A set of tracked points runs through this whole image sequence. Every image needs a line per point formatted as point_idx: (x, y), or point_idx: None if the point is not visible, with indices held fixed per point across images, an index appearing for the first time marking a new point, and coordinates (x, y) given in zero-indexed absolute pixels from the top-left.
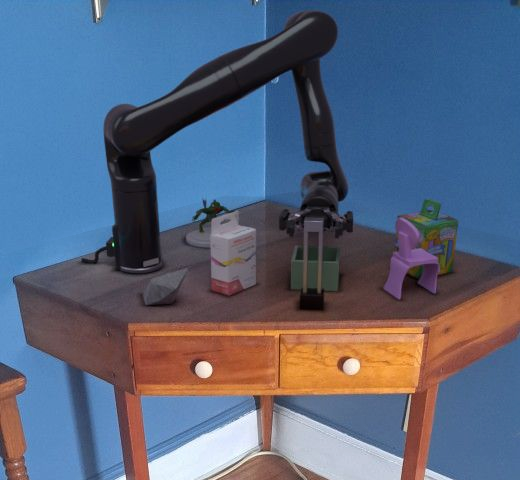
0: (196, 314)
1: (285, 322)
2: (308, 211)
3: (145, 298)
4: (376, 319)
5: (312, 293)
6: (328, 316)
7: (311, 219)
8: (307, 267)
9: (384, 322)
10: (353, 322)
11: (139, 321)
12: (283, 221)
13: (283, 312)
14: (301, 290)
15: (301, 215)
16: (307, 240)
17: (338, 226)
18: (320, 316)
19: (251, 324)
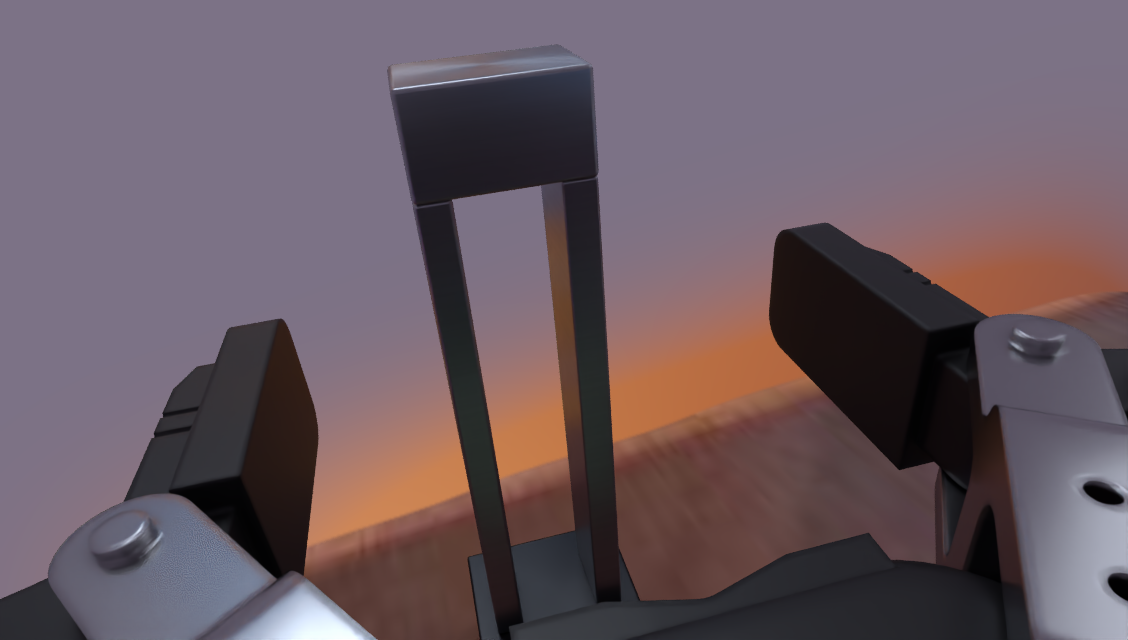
0: None
1: (617, 453)
2: (1052, 634)
3: None
4: None
5: (541, 560)
6: (438, 567)
7: (506, 59)
8: (577, 456)
9: None
10: None
11: (1109, 306)
12: (1118, 357)
13: (677, 530)
14: (626, 577)
15: (991, 444)
16: (545, 222)
17: (233, 335)
18: (479, 553)
19: (737, 401)
